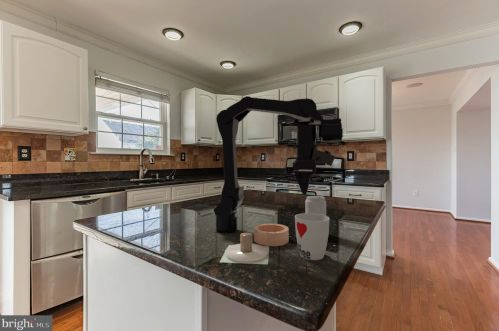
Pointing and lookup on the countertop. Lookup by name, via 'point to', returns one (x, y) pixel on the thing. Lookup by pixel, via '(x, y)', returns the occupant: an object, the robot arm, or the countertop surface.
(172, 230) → the countertop surface
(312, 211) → the beverage can
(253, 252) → the lid
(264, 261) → the mat
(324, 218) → the cup
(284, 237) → the bowl
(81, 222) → the countertop surface
